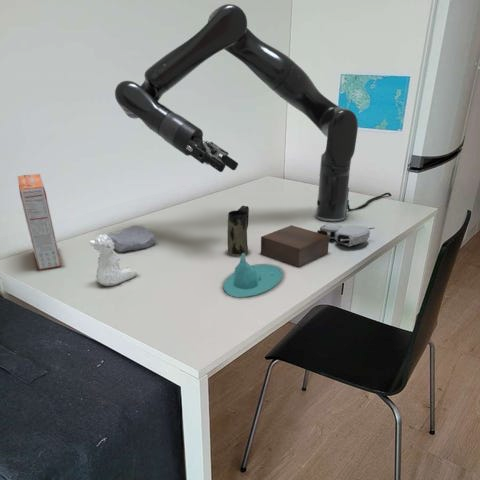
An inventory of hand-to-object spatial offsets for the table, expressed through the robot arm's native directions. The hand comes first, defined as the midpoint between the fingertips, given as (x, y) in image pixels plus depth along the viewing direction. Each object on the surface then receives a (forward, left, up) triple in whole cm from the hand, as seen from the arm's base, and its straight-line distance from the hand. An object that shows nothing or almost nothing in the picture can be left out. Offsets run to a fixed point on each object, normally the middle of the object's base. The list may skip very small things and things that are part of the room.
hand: (230, 168), depth 124 cm
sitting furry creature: (+35, -6, -22) cm, 42 cm away
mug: (0, +3, -22) cm, 22 cm away
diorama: (+11, +19, -22) cm, 31 cm away
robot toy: (-26, +19, -22) cm, 39 cm away
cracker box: (+39, -30, -22) cm, 54 cm away
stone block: (+18, -22, -22) cm, 36 cm away
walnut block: (-9, +15, -22) cm, 28 cm away
